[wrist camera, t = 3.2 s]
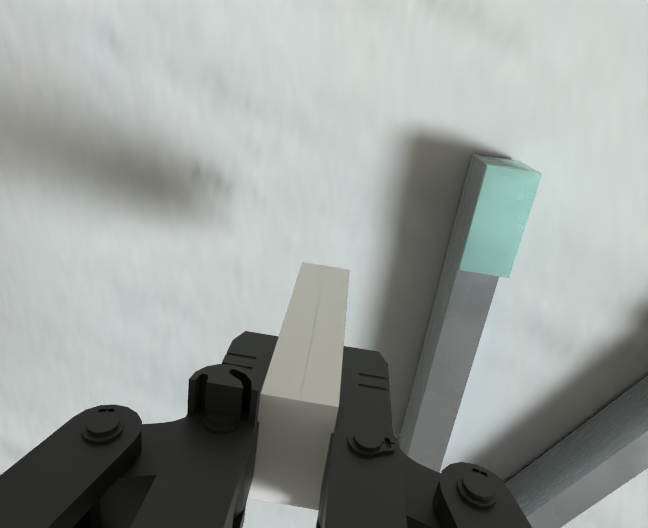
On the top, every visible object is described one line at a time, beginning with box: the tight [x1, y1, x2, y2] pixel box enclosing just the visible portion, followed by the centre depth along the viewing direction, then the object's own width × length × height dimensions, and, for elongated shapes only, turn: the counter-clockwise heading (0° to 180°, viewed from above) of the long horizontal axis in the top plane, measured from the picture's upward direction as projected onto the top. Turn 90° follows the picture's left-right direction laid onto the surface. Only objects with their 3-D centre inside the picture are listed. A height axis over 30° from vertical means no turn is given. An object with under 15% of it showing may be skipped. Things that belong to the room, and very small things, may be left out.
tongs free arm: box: [398, 154, 542, 472], centre depth 22 cm, size 18×2×3 cm, turn 172°
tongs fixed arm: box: [505, 375, 648, 528], centre depth 22 cm, size 21×4×3 cm, turn 142°
